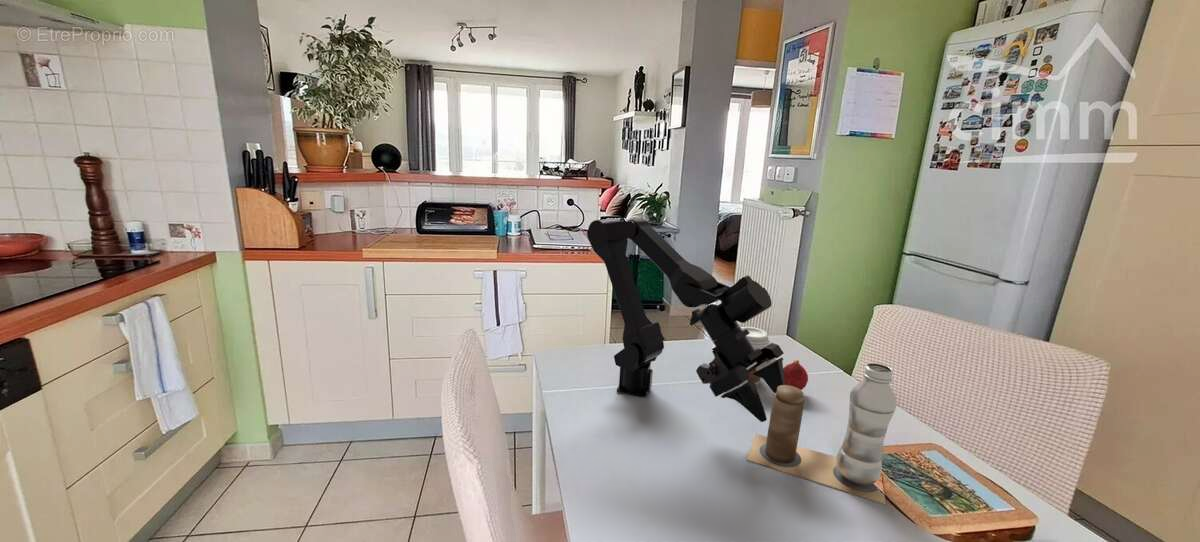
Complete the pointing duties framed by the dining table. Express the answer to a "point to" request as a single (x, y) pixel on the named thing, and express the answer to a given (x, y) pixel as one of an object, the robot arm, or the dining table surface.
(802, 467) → the board
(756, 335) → the coffee cup
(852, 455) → the plastic bottle
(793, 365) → the onion
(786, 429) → the pepper mill
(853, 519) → the dining table surface
